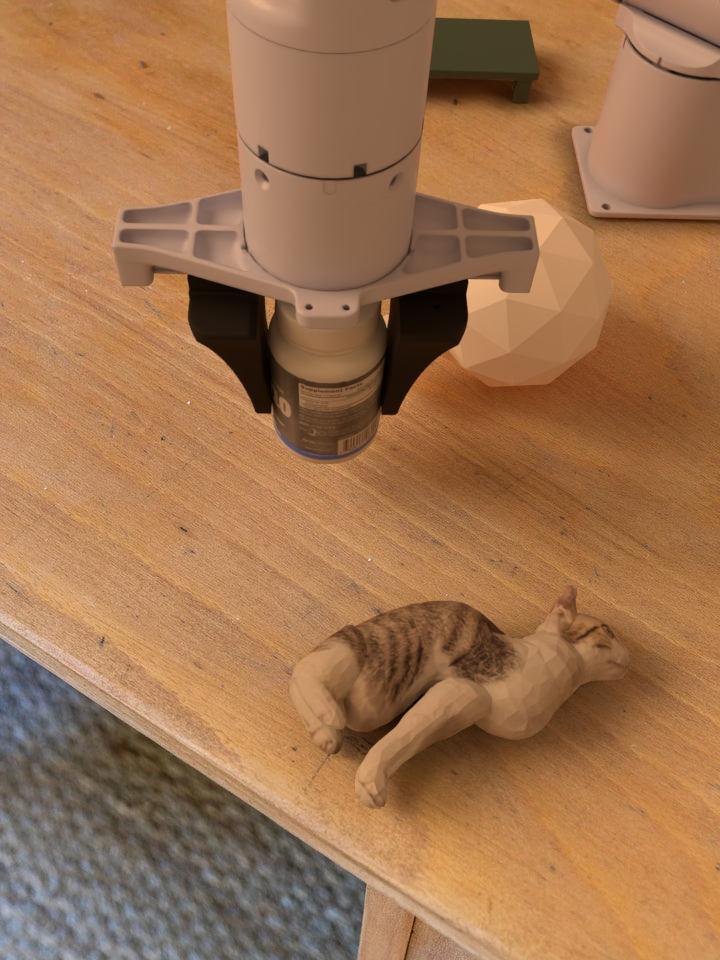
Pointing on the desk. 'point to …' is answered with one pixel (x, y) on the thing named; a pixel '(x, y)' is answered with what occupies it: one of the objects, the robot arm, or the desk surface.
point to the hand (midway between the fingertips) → (325, 395)
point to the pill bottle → (326, 384)
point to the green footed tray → (485, 52)
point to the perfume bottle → (537, 306)
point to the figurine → (446, 679)
